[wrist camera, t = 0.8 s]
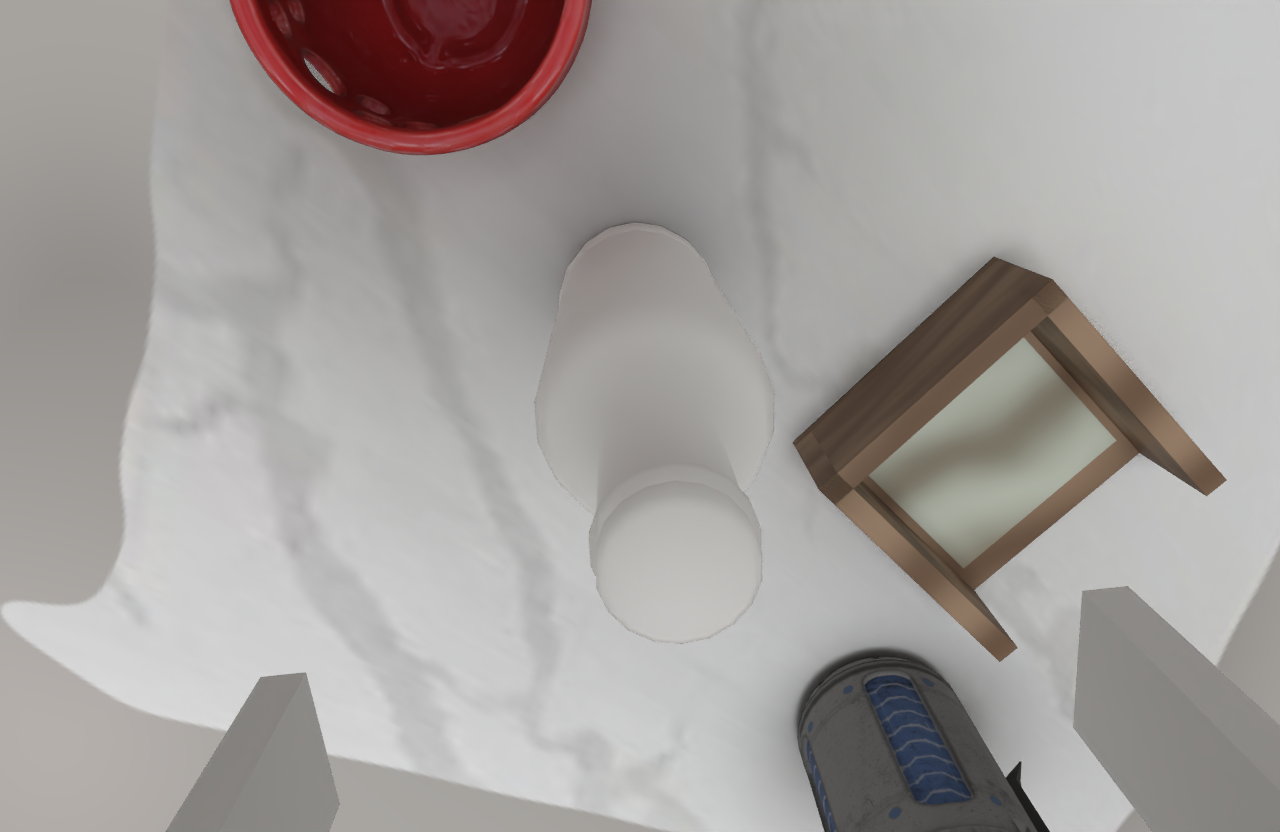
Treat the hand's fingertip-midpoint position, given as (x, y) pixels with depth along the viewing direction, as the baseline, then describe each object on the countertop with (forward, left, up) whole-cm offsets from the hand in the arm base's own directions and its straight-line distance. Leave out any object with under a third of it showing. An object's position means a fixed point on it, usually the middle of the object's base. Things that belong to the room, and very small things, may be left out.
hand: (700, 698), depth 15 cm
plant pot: (-15, -7, -34) cm, 38 cm away
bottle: (0, 0, -34) cm, 34 cm away
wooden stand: (+10, +18, -34) cm, 40 cm away
